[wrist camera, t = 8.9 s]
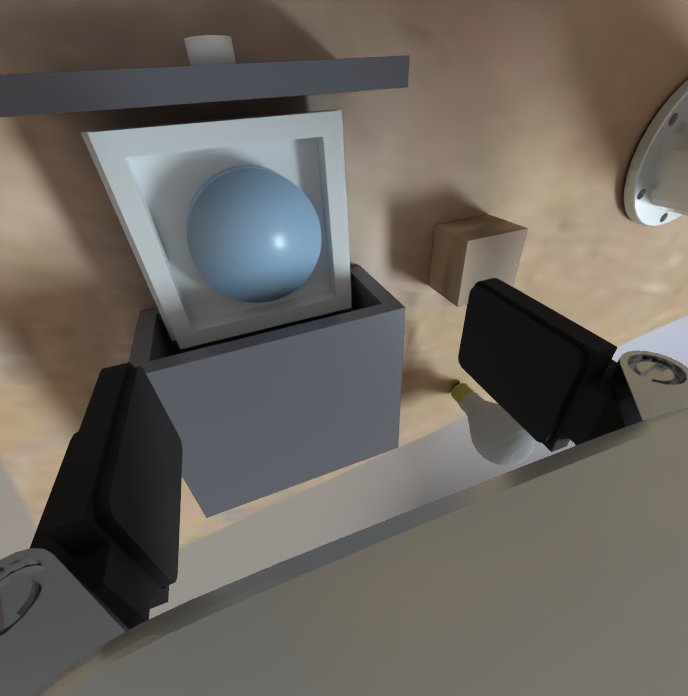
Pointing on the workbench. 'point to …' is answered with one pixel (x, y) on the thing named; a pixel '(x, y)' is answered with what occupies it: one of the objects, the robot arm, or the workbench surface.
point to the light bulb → (493, 429)
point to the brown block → (474, 255)
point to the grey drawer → (214, 167)
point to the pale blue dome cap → (253, 234)
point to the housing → (280, 396)
